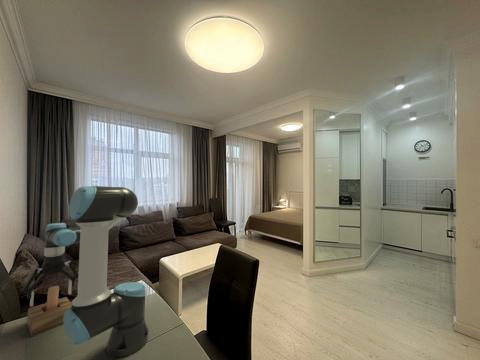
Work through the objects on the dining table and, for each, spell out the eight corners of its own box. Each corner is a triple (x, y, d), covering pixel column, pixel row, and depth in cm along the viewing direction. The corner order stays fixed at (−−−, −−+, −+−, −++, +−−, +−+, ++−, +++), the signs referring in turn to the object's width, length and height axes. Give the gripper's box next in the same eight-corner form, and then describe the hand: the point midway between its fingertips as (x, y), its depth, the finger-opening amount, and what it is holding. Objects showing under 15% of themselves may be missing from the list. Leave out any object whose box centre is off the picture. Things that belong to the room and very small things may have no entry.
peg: (57, 319, 96) (60, 287, 97) (45, 323, 93) (49, 290, 94) (55, 316, 98) (58, 285, 99) (44, 320, 95) (47, 287, 96)
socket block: (72, 320, 96) (73, 305, 97) (31, 336, 85) (32, 319, 86) (65, 310, 105) (66, 296, 105) (27, 324, 94) (28, 308, 94)
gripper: (83, 248, 110) (81, 287, 108) (15, 259, 90) (12, 308, 88) (87, 250, 105) (85, 291, 104) (17, 263, 85) (13, 314, 84)
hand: (51, 299), depth 96 cm, fingers open, 13 cm apart
